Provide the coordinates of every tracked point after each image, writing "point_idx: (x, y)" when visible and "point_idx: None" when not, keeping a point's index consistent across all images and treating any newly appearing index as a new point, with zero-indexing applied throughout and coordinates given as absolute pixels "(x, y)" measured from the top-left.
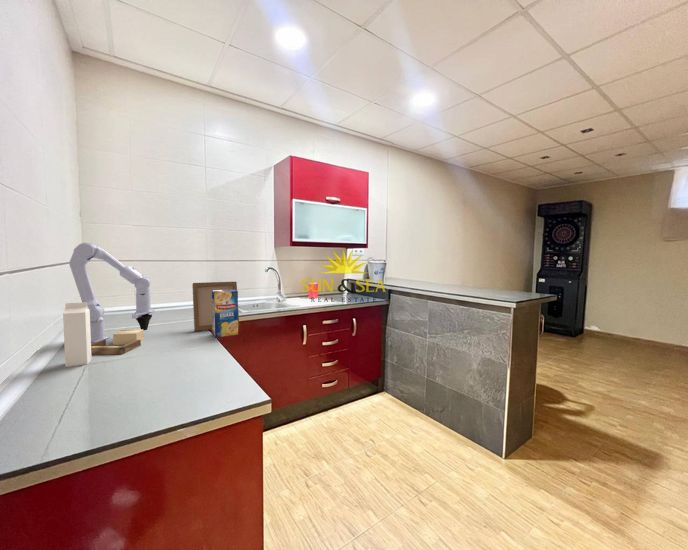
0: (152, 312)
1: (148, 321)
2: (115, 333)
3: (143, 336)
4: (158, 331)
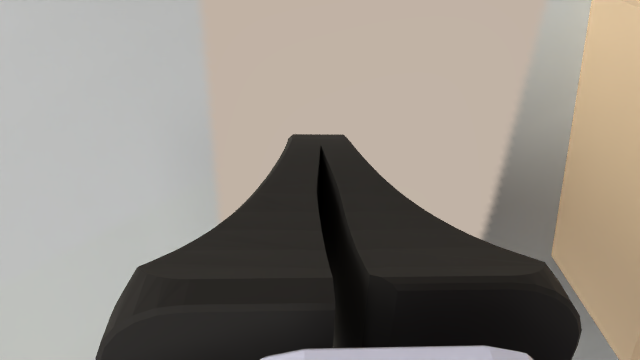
0: (370, 348)
1: (291, 210)
2: None
3: (636, 1)
4: (17, 30)
